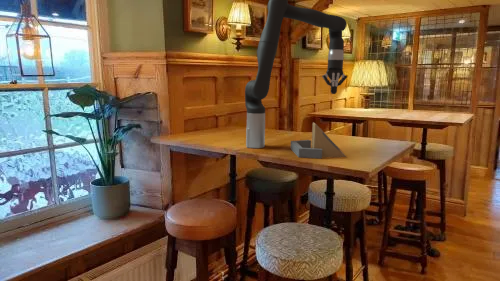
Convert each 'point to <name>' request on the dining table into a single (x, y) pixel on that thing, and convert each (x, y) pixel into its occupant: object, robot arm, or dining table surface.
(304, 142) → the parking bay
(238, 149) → the dining table surface
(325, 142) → the sandwich container
